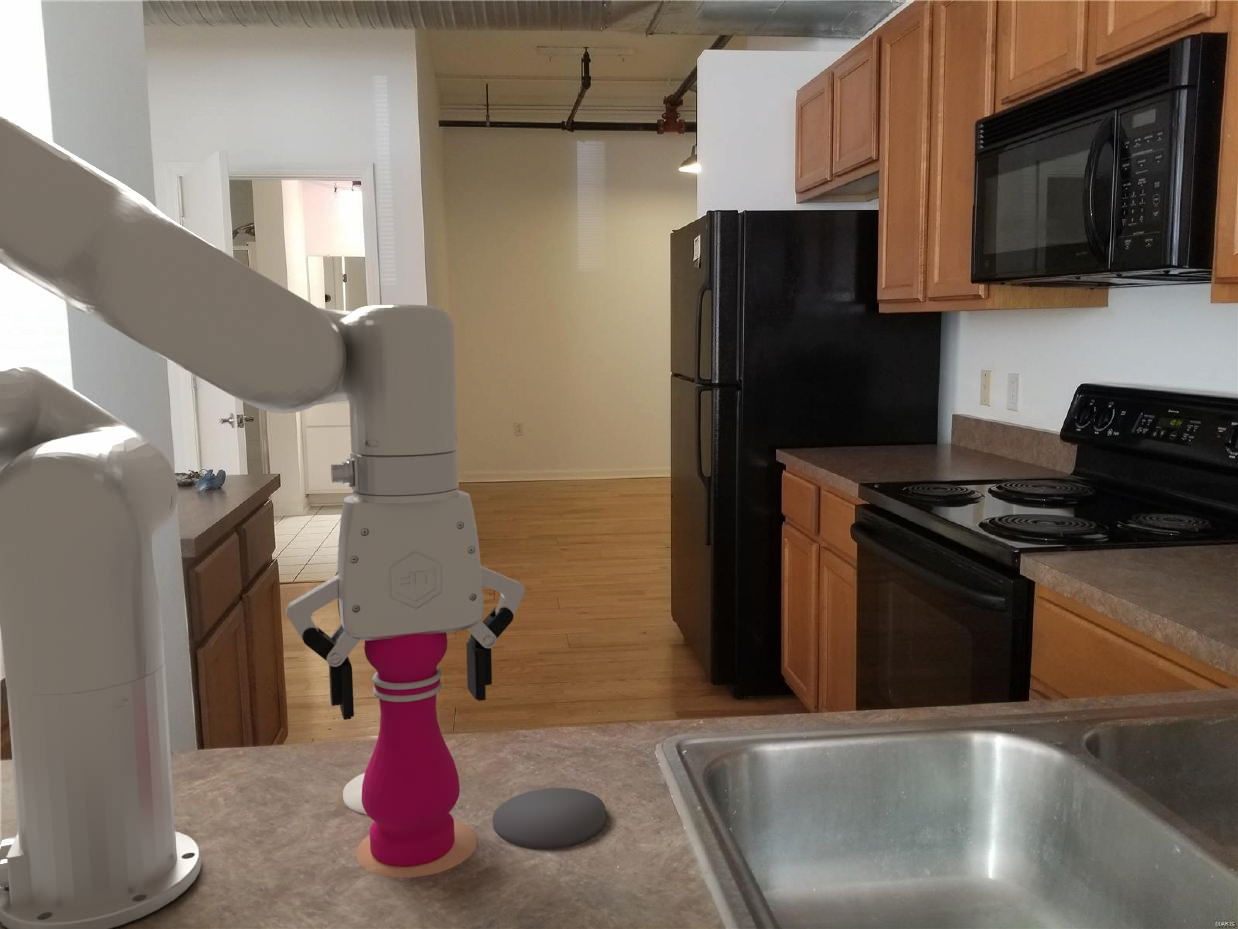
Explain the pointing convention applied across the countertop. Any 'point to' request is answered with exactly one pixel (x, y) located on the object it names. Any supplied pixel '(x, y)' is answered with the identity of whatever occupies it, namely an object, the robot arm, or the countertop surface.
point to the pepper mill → (409, 755)
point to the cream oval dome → (354, 794)
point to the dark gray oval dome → (550, 818)
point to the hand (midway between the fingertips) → (413, 704)
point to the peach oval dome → (457, 854)
